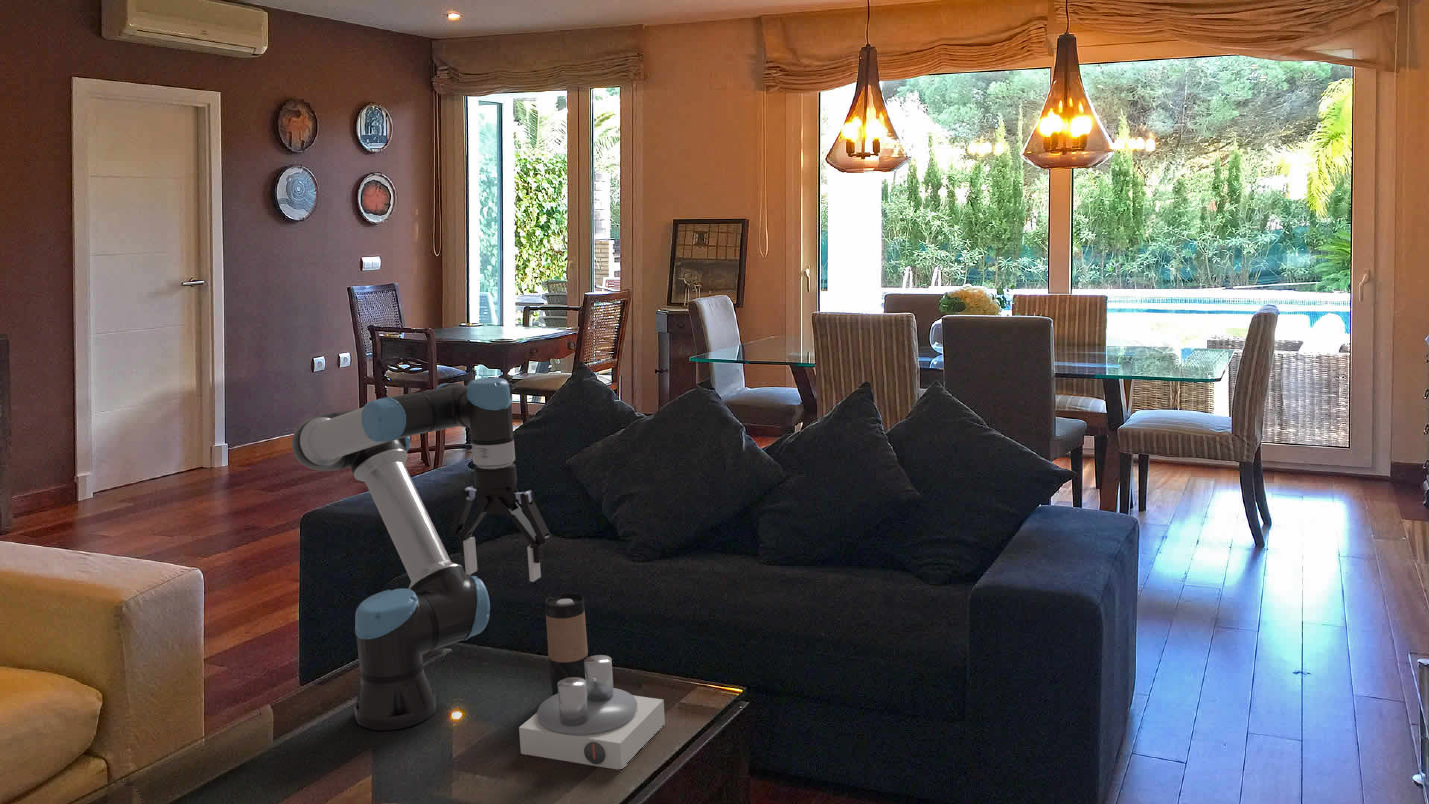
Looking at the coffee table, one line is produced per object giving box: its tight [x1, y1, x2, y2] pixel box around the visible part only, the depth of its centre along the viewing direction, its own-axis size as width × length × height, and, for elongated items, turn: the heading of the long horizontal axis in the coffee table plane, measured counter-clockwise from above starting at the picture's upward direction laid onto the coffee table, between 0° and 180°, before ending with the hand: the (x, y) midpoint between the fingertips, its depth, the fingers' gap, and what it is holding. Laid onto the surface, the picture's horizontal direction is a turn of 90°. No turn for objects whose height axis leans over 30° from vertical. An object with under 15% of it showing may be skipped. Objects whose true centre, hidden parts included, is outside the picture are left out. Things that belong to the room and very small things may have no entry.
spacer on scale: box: [584, 654, 614, 702], centre depth 223 cm, size 5×5×7 cm
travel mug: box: [544, 592, 589, 696], centre depth 237 cm, size 8×8×20 cm
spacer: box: [557, 677, 588, 727], centre depth 214 cm, size 5×5×7 cm
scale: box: [518, 687, 666, 771], centre depth 219 cm, size 20×18×6 cm
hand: (503, 576), depth 223 cm, fingers open, 13 cm apart
